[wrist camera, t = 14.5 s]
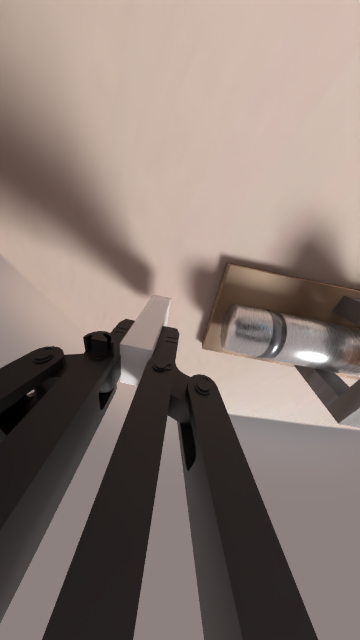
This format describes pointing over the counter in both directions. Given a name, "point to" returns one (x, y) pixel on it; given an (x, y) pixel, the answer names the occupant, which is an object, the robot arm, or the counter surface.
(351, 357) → the shaft
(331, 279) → the counter surface
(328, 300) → the rail
